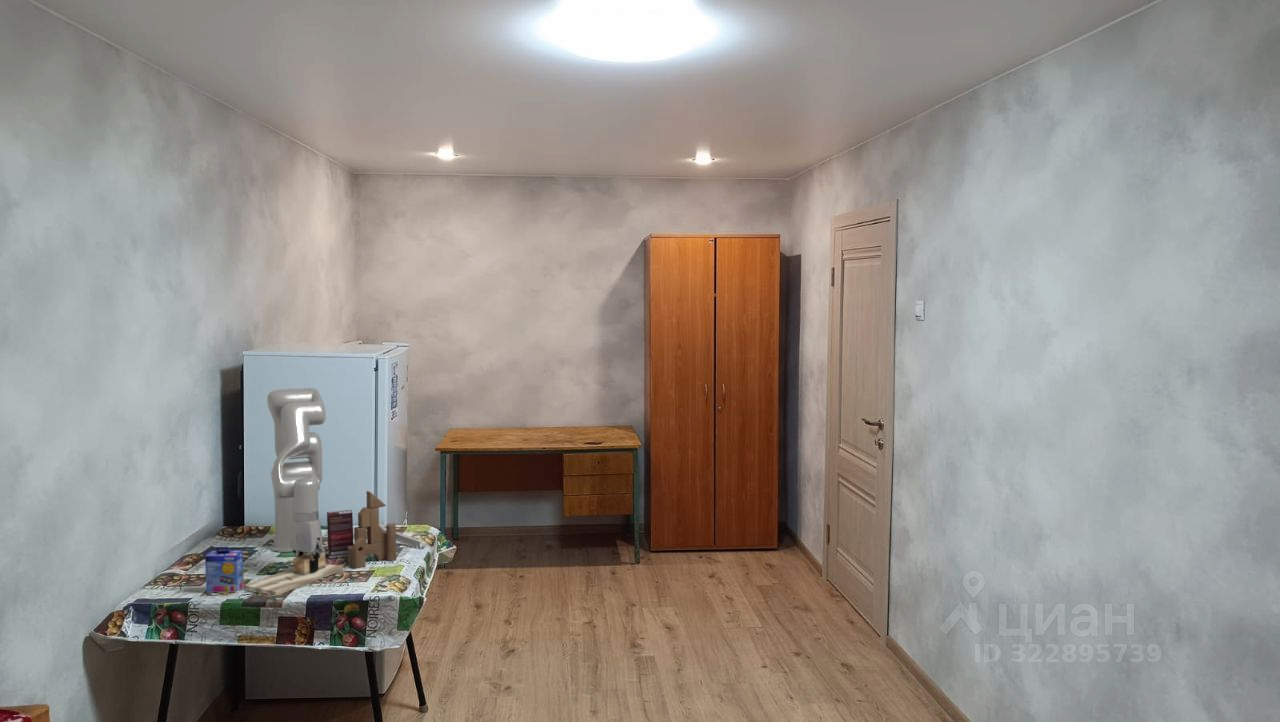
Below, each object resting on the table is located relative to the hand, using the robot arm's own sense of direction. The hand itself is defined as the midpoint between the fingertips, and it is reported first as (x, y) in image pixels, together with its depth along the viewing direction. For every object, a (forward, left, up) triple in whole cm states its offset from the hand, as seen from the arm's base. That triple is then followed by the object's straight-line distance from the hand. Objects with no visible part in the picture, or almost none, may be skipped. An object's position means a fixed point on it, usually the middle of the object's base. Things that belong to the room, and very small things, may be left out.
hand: (307, 569), depth 288 cm
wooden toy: (+9, +21, -2) cm, 23 cm away
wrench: (-1, +42, -3) cm, 42 cm away
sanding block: (0, +1, -1) cm, 1 cm away
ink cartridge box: (-12, -22, -2) cm, 25 cm away
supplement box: (-7, +22, -2) cm, 23 cm away
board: (0, -5, -2) cm, 6 cm away
